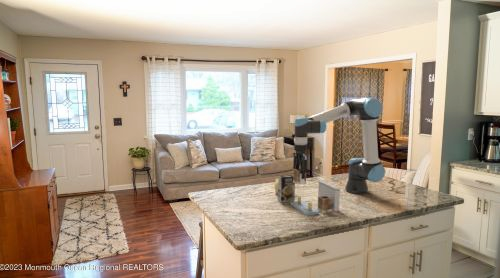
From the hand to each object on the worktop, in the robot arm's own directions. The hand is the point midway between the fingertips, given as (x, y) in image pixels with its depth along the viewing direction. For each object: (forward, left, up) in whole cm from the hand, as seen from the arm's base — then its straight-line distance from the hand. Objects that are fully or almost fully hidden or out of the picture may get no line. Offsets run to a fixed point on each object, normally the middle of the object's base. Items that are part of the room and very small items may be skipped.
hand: (299, 182), depth 198 cm
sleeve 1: (0, 0, 0) cm, 0 cm away
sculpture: (-2, -27, -14) cm, 30 cm away
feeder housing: (-16, +6, -14) cm, 22 cm away
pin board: (0, +6, -14) cm, 16 cm away
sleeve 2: (-10, +13, -14) cm, 21 cm away
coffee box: (+3, -11, -14) cm, 18 cm away
